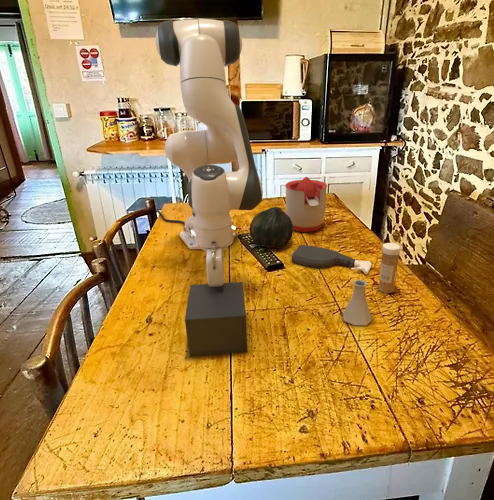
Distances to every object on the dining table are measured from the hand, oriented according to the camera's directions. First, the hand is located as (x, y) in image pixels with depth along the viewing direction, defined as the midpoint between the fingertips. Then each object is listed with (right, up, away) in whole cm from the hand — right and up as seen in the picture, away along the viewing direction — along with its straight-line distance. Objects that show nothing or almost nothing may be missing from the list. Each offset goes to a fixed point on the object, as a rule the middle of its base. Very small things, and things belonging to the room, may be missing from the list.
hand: (218, 283), depth 102 cm
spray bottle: (+33, +4, +24) cm, 41 cm away
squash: (+14, +11, +38) cm, 42 cm away
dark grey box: (+1, -11, -9) cm, 14 cm away
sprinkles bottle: (+46, -2, +9) cm, 47 cm away
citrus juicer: (+27, +17, +52) cm, 61 cm away
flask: (+35, -8, -4) cm, 36 cm away
